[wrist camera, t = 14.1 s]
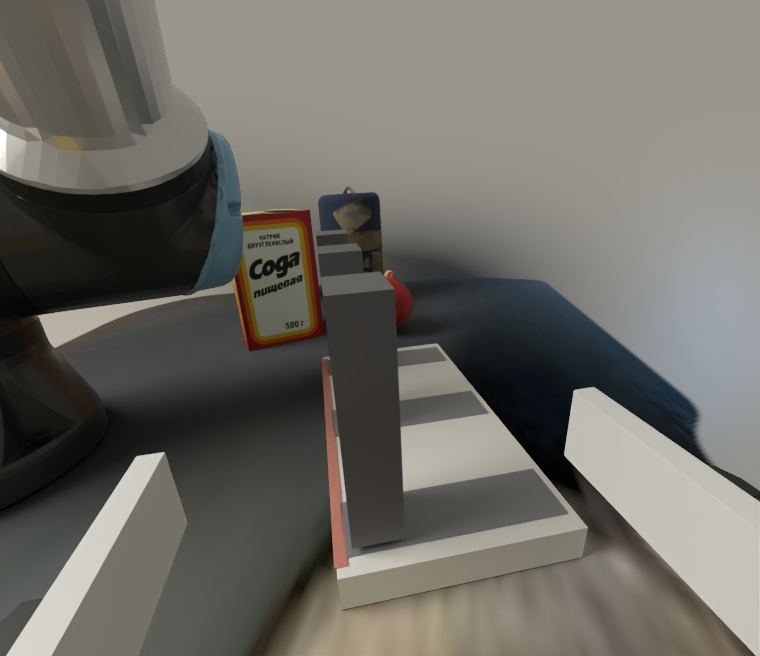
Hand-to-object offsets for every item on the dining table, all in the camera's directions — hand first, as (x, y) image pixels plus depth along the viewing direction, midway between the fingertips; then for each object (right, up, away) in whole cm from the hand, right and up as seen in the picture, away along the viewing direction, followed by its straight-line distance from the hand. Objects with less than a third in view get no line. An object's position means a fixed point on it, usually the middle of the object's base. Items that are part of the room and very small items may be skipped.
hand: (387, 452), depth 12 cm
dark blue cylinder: (-4, +9, +51) cm, 52 cm away
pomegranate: (+1, +3, +36) cm, 37 cm away
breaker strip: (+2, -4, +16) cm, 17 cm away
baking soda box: (-13, +3, +37) cm, 40 cm away
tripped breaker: (-1, -5, +6) cm, 8 cm away
